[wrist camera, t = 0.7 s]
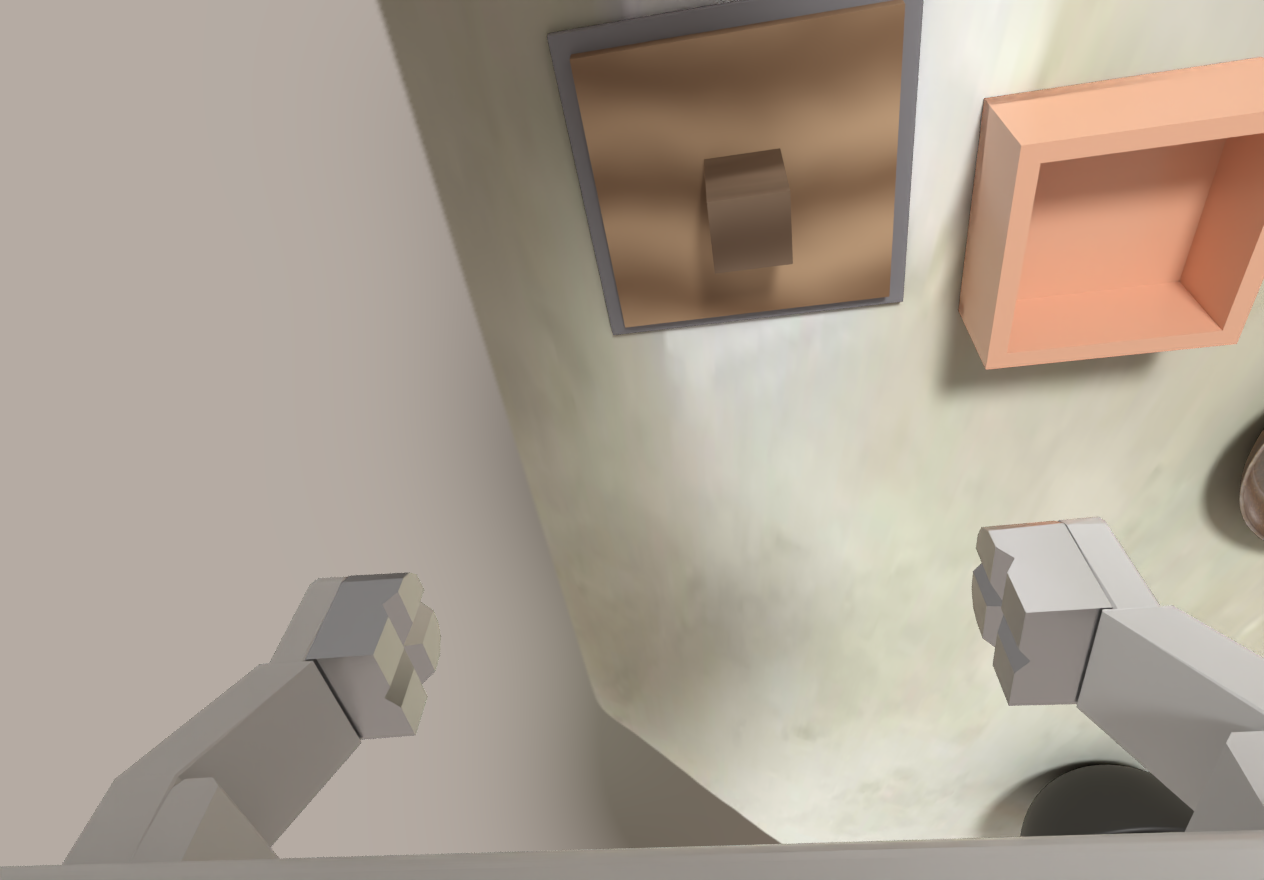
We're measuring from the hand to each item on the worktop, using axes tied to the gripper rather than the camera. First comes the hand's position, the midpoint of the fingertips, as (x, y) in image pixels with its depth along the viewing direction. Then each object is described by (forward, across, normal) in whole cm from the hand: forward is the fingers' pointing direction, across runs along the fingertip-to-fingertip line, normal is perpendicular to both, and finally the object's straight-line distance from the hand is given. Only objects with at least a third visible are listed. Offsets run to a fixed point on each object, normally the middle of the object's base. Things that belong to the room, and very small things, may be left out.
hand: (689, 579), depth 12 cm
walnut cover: (+36, -2, +6) cm, 37 cm away
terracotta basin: (+37, -22, +10) cm, 44 cm away
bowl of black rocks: (+45, -36, +81) cm, 99 cm away
